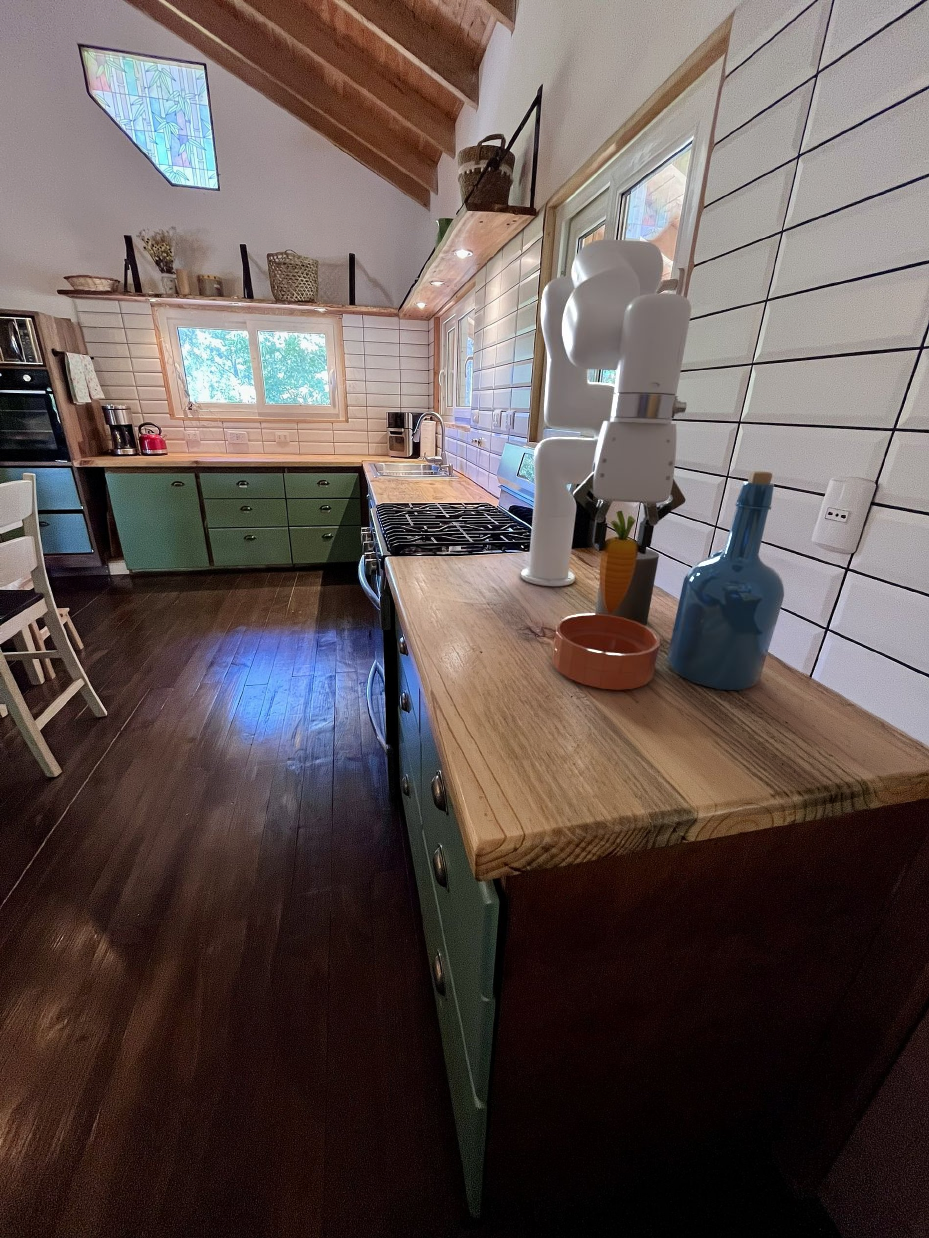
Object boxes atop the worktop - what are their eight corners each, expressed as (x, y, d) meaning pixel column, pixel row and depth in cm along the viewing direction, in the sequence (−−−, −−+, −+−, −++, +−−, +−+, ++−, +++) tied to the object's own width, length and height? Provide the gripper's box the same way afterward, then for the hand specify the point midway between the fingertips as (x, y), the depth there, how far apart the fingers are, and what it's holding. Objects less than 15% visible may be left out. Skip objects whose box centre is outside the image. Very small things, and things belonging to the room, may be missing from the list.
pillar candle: (651, 633, 90) (667, 553, 84) (596, 629, 91) (608, 549, 85) (640, 613, 99) (654, 540, 93) (591, 610, 100) (601, 536, 94)
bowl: (550, 642, 85) (553, 610, 83) (641, 650, 83) (647, 617, 81) (554, 687, 71) (558, 650, 69) (663, 697, 70) (671, 659, 67)
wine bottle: (769, 701, 70) (837, 481, 58) (668, 684, 73) (714, 473, 61) (748, 659, 82) (801, 470, 70) (663, 646, 85) (700, 464, 74)
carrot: (629, 621, 71) (647, 516, 65) (593, 618, 72) (608, 514, 66) (625, 609, 76) (642, 510, 70) (592, 606, 76) (606, 507, 71)
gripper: (702, 413, 66) (675, 547, 73) (571, 408, 67) (557, 540, 74) (722, 413, 59) (690, 561, 66) (576, 408, 60) (560, 553, 67)
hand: (620, 549), depth 70 cm, fingers closed on carrot, 5 cm apart
